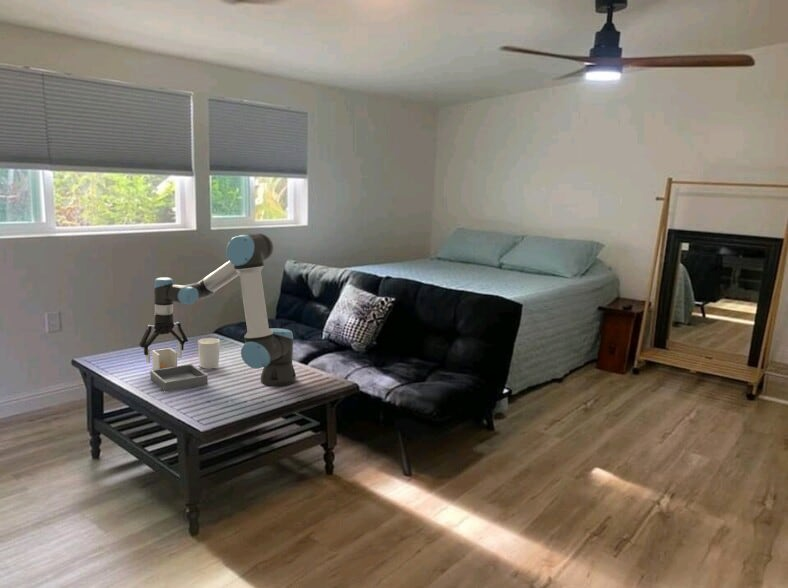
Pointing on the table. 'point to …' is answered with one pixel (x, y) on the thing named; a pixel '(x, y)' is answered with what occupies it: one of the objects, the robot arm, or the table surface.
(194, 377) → the tray
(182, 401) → the table surface
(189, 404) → the table surface
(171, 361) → the cream open-top bin
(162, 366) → the ball
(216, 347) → the candle holder
